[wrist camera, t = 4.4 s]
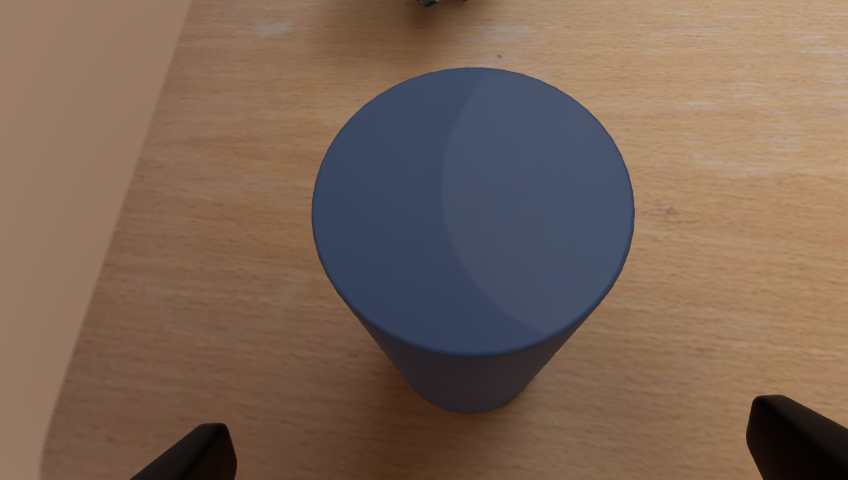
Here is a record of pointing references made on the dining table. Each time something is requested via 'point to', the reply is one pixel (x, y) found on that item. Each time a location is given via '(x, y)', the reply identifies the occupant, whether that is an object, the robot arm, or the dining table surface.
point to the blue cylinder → (472, 228)
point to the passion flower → (429, 2)
